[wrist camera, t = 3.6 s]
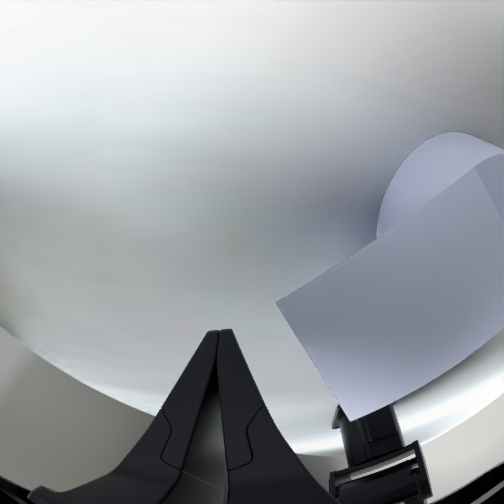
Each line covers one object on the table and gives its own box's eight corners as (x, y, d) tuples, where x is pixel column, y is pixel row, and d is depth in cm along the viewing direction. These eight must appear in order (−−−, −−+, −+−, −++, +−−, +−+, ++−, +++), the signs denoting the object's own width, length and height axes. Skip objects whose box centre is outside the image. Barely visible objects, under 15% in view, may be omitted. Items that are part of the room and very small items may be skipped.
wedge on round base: (350, 340, 16) (503, 231, 12) (380, 434, 11) (564, 296, 7) (266, 248, 12) (478, 102, 8) (288, 389, 7) (588, 148, 2)
